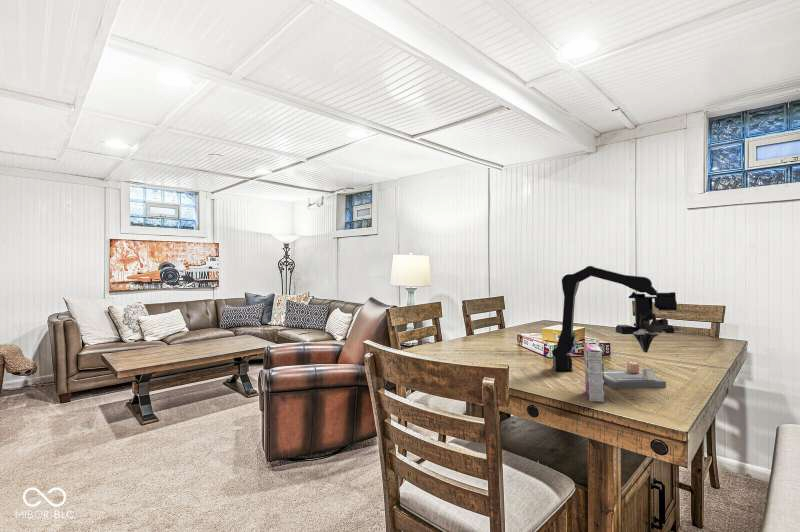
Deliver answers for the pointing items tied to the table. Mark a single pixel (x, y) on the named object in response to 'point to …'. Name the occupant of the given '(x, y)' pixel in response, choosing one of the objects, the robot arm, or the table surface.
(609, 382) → the console
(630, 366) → the block
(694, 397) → the table surface
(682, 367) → the table surface
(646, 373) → the fader
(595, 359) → the candy bar box
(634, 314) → the robot arm
